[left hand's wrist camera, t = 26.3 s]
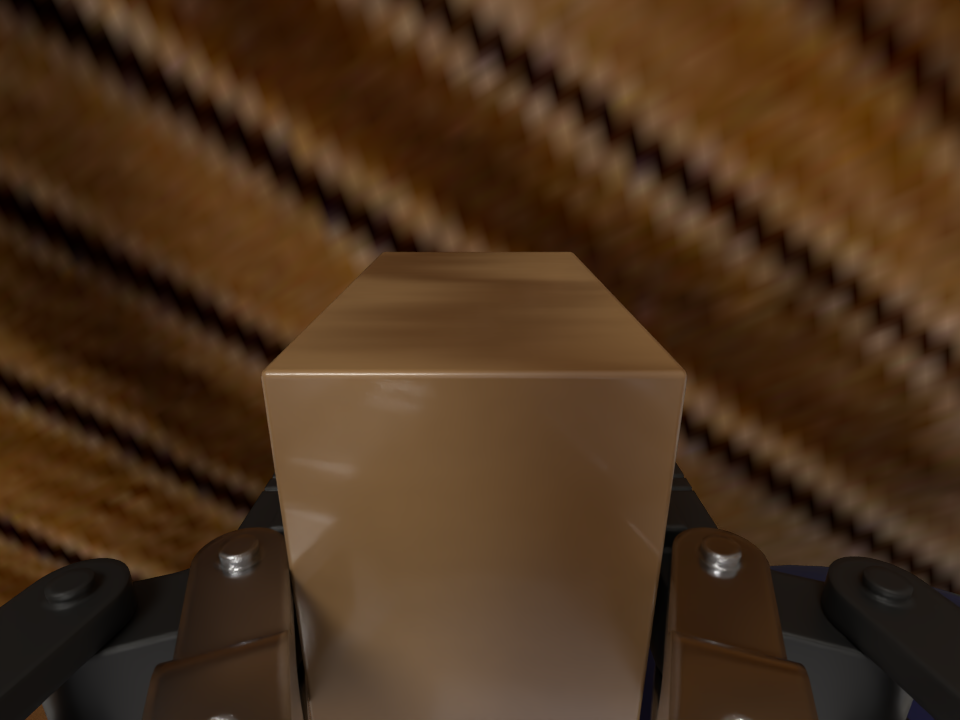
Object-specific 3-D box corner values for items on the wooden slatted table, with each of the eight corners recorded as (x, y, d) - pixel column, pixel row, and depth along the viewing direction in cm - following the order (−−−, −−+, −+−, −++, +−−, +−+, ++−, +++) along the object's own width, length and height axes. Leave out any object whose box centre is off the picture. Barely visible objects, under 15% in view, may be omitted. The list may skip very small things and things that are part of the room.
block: (398, 523, 17) (327, 839, 9) (381, 251, 14) (256, 371, 6) (557, 523, 17) (624, 840, 9) (573, 251, 14) (690, 372, 6)
